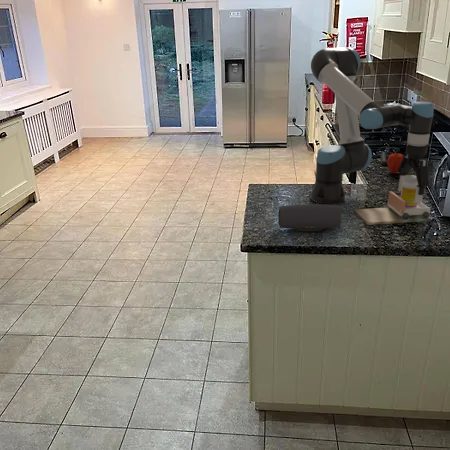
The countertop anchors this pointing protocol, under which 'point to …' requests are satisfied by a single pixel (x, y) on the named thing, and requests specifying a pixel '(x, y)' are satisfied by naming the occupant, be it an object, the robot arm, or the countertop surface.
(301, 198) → the countertop surface
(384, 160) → the door handle
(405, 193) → the supplement bottle
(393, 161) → the apple
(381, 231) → the countertop surface
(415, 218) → the cutting board
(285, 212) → the bluetooth speaker
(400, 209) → the cart
